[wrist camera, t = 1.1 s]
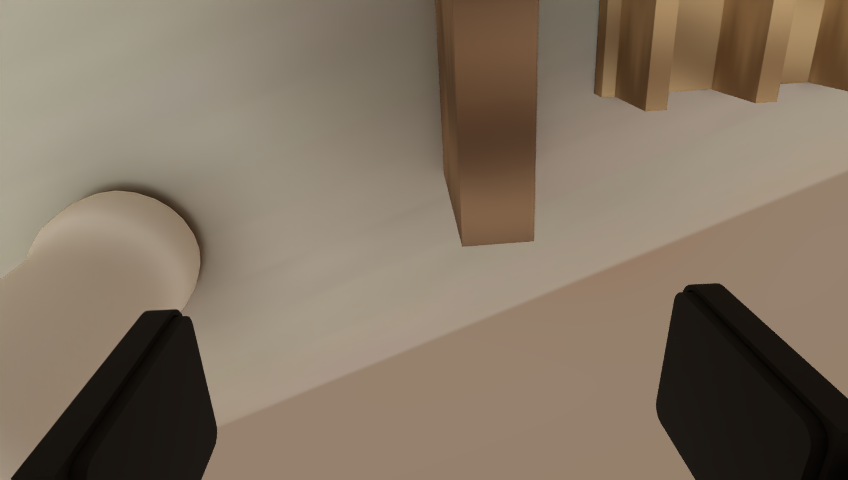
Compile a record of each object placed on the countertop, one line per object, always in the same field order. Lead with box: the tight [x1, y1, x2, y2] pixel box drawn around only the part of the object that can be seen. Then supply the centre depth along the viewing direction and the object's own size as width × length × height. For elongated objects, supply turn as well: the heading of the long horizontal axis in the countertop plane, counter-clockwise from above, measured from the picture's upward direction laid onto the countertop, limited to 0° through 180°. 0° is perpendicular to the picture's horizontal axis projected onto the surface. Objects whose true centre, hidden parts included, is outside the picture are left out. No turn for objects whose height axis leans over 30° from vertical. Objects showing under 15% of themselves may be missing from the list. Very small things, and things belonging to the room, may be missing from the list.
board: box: [435, 0, 539, 247], centre depth 25 cm, size 12×3×10 cm, turn 4°
